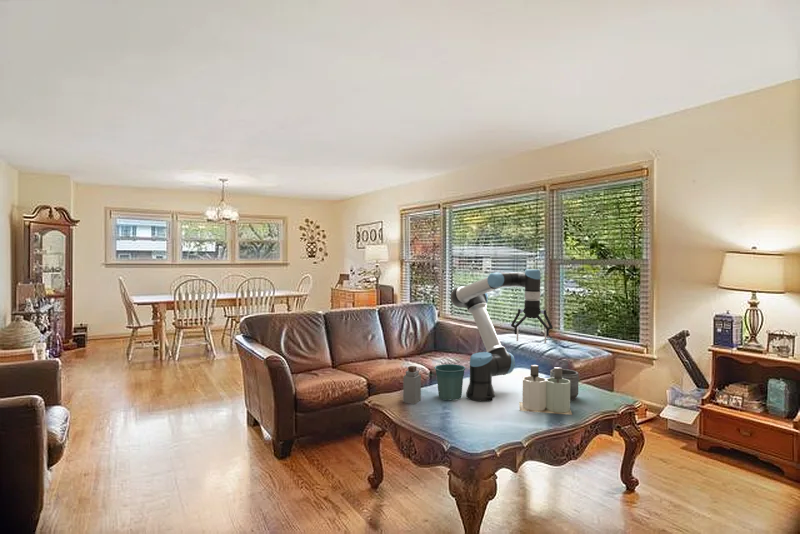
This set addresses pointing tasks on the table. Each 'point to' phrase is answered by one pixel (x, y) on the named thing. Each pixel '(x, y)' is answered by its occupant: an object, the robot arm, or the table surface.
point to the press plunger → (534, 372)
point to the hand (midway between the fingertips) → (531, 341)
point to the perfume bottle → (412, 386)
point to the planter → (573, 379)
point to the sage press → (558, 393)
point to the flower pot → (450, 381)
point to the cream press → (534, 393)
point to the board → (542, 410)
